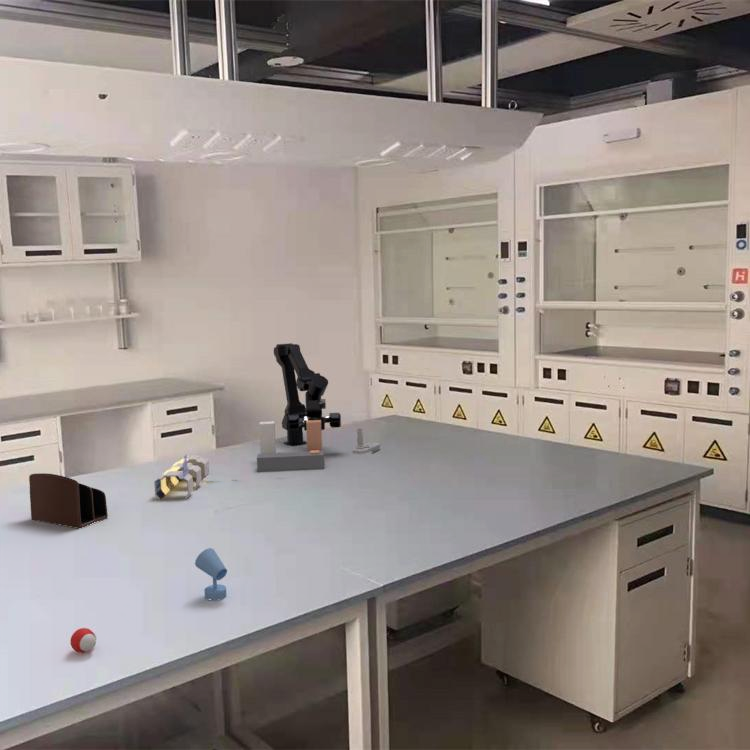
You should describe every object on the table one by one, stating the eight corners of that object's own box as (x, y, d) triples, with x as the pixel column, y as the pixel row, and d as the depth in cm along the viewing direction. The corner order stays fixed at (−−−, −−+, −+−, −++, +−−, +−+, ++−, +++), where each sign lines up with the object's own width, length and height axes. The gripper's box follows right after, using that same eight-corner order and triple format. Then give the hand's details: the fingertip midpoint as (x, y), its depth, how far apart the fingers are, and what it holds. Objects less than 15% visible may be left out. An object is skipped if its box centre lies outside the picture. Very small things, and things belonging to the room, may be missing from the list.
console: (261, 463, 278) (260, 445, 277) (324, 460, 280) (323, 442, 279) (257, 475, 263) (256, 456, 262) (324, 472, 264) (323, 453, 263)
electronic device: (381, 424, 295) (363, 430, 281) (382, 450, 296) (363, 458, 282) (368, 423, 297) (349, 430, 284) (369, 449, 298) (350, 457, 285)
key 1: (262, 461, 276) (260, 421, 274) (276, 460, 277) (274, 421, 275) (261, 464, 272) (259, 424, 270) (275, 463, 273) (273, 423, 271)
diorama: (189, 500, 238) (186, 457, 236) (155, 501, 239) (152, 458, 237) (209, 478, 263) (207, 439, 261) (178, 478, 263) (176, 440, 262)
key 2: (308, 460, 276) (306, 420, 274) (322, 459, 276) (320, 419, 275) (308, 462, 272) (306, 422, 270) (322, 462, 273) (320, 422, 271)
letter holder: (79, 529, 214) (75, 478, 212) (30, 520, 223) (26, 471, 222) (108, 518, 223) (104, 469, 221) (60, 510, 232) (55, 463, 230)
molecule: (66, 652, 145) (64, 630, 144) (90, 642, 148) (88, 620, 148) (82, 660, 142) (80, 637, 141) (106, 649, 145) (104, 627, 145)
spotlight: (194, 595, 168) (215, 603, 163) (191, 550, 167) (212, 557, 162) (213, 587, 172) (234, 595, 167) (210, 543, 170) (231, 550, 166)
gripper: (286, 392, 278) (286, 429, 269) (339, 390, 279) (341, 427, 270) (287, 410, 287) (288, 447, 278) (339, 408, 288) (341, 444, 279)
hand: (314, 441), depth 276 cm, fingers closed, pressing on key 2
